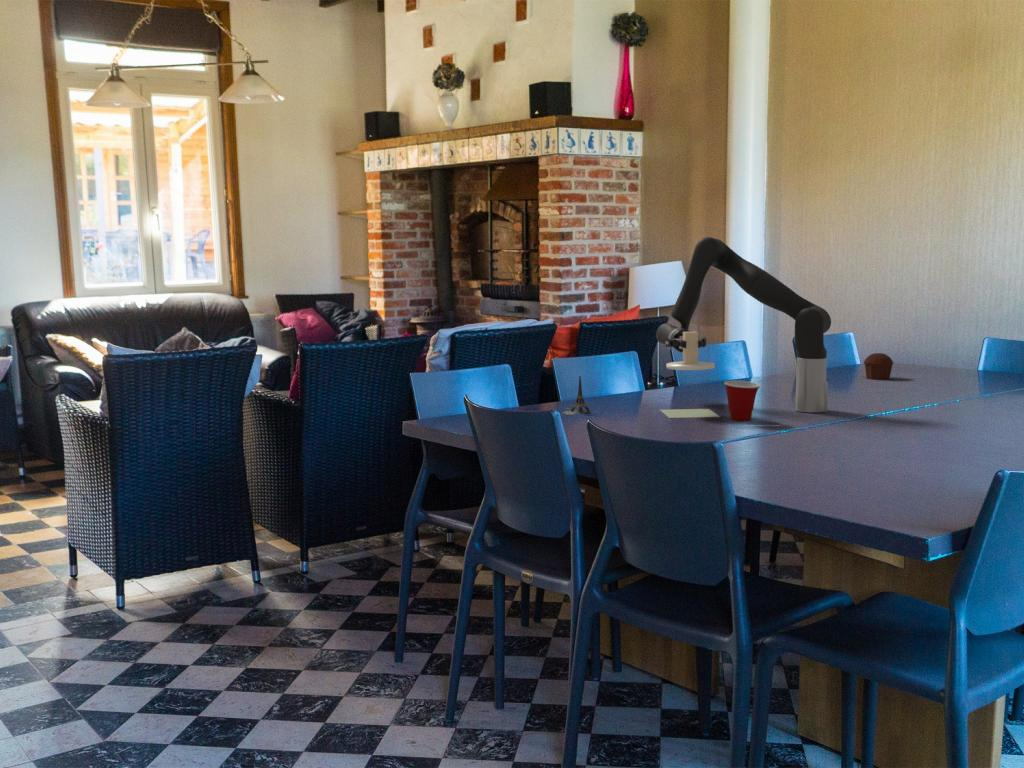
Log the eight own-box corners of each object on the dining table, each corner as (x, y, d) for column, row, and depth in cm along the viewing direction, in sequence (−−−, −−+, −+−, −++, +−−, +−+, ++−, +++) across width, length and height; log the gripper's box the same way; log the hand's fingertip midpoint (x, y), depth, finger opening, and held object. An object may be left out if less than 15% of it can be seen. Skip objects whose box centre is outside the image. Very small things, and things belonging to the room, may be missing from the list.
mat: (708, 410, 334) (708, 408, 334) (720, 418, 318) (720, 416, 318) (659, 411, 334) (659, 409, 333) (669, 419, 318) (669, 417, 318)
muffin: (888, 381, 403) (889, 355, 401) (859, 379, 409) (860, 354, 407) (895, 377, 412) (896, 352, 411) (867, 376, 418) (868, 351, 417)
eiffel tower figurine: (566, 409, 343) (565, 369, 341) (596, 410, 341) (596, 369, 339) (560, 416, 328) (560, 375, 326) (592, 417, 326) (592, 375, 324)
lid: (708, 364, 331) (708, 329, 330) (719, 369, 317) (719, 333, 315) (662, 365, 331) (662, 330, 330) (671, 370, 316) (671, 334, 315)
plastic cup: (755, 425, 305) (755, 385, 304) (719, 423, 310) (719, 383, 309) (763, 419, 315) (764, 381, 313) (728, 417, 320) (729, 379, 318)
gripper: (659, 329, 336) (669, 333, 319) (702, 328, 337) (715, 331, 320) (659, 352, 337) (669, 357, 320) (702, 350, 338) (715, 356, 321)
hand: (692, 344), depth 320 cm, fingers closed on lid, 4 cm apart
